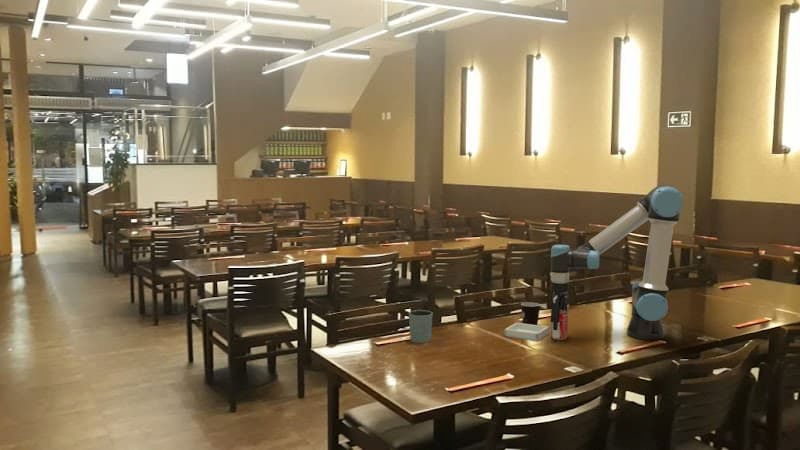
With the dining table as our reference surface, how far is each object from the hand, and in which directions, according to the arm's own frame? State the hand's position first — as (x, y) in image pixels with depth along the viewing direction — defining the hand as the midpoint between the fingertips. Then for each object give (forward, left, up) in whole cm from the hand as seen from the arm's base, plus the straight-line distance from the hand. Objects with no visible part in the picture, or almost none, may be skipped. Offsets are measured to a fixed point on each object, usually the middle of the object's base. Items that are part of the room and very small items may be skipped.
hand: (558, 335), depth 274 cm
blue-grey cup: (+49, +32, -2) cm, 59 cm away
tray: (+14, +1, -2) cm, 14 cm away
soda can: (0, 0, -2) cm, 2 cm away
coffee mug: (+19, -16, -2) cm, 25 cm away
